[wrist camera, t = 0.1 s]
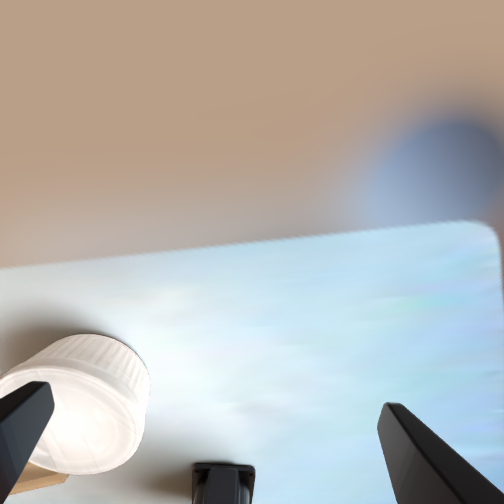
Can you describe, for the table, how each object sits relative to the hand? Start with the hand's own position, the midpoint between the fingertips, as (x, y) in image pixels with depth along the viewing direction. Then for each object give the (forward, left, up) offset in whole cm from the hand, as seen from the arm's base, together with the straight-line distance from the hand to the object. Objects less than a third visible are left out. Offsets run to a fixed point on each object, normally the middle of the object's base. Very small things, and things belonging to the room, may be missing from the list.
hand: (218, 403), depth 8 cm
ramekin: (-14, +12, -15) cm, 24 cm away
